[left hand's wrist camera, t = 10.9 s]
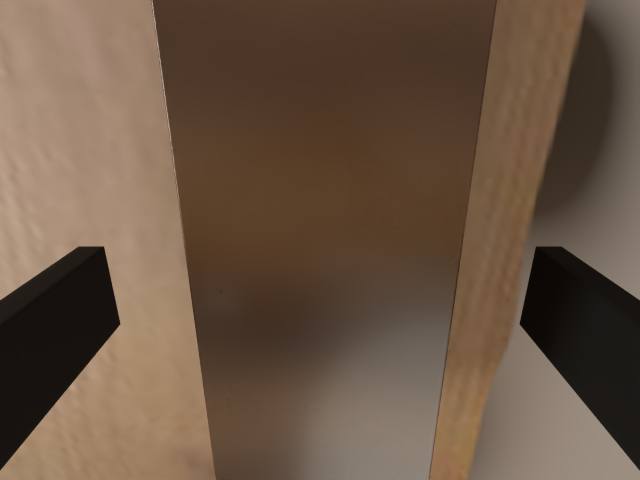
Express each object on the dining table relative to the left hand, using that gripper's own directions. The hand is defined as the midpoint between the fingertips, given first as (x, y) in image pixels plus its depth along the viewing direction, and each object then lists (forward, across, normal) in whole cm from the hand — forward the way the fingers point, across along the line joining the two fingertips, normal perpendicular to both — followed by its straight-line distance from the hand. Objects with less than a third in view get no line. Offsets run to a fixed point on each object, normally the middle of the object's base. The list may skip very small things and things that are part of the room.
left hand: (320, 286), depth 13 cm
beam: (+4, 0, -28) cm, 29 cm away
